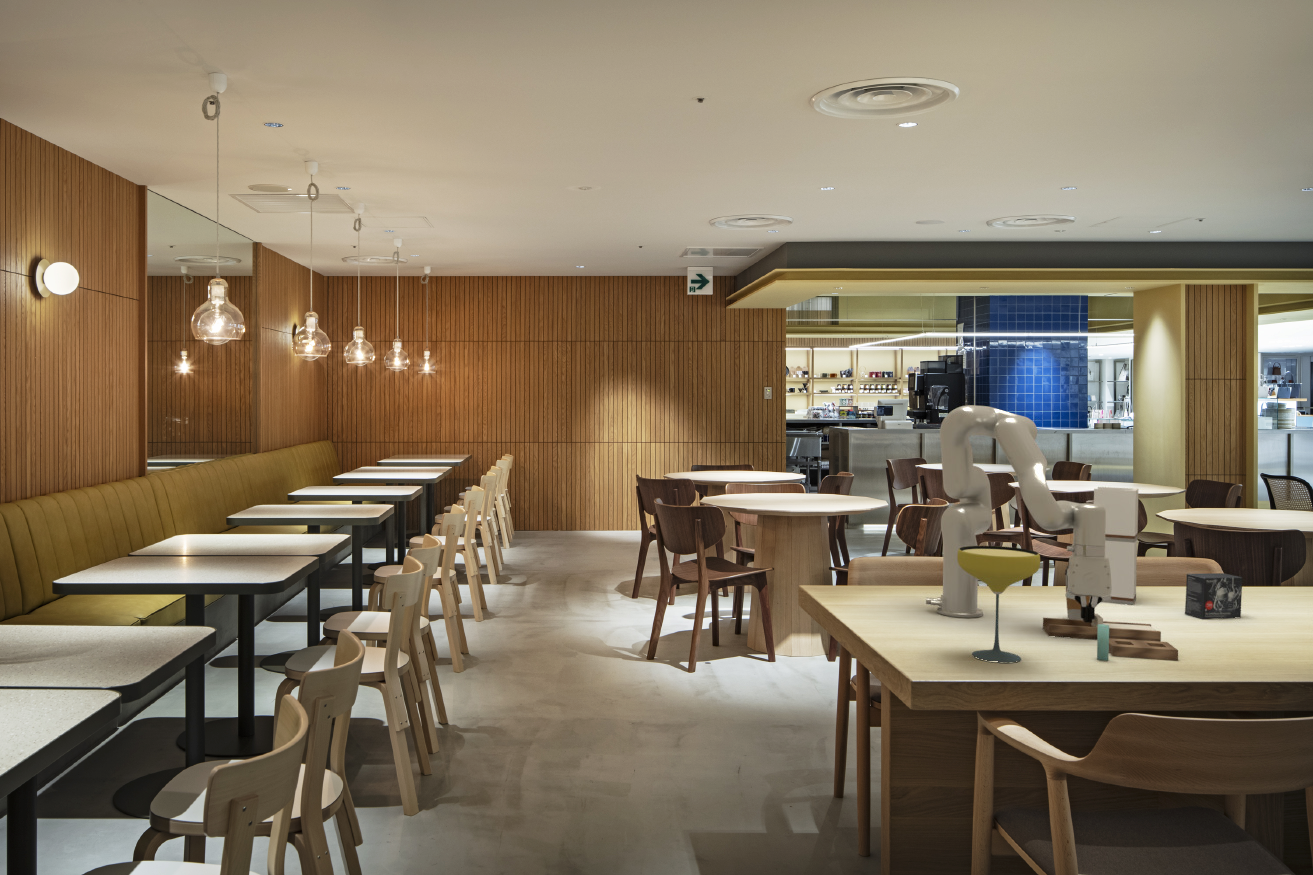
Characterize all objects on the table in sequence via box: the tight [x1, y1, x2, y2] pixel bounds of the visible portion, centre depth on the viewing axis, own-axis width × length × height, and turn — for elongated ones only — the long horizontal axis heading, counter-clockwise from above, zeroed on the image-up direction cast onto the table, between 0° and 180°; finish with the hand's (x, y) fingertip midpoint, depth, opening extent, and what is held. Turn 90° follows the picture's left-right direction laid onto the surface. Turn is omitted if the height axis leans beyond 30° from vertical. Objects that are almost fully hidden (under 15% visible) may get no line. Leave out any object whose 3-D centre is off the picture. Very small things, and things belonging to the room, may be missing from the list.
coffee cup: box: [1064, 565, 1090, 620], centre depth 248 cm, size 8×8×15 cm
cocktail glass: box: [957, 545, 1041, 663], centre depth 208 cm, size 18×18×25 cm
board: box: [1042, 617, 1162, 642], centre depth 230 cm, size 26×9×3 cm, turn 76°
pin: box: [1096, 624, 1110, 662], centre depth 207 cm, size 2×2×8 cm
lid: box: [1091, 612, 1157, 631], centre depth 229 cm, size 14×6×3 cm, turn 76°
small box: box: [1184, 572, 1243, 620], centre depth 256 cm, size 13×7×12 cm, turn 102°
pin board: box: [1109, 638, 1179, 661], centre depth 212 cm, size 14×8×2 cm, turn 76°
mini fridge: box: [1093, 486, 1139, 606], centre depth 277 cm, size 11×11×35 cm
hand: (1087, 621), depth 231 cm, fingers closed
